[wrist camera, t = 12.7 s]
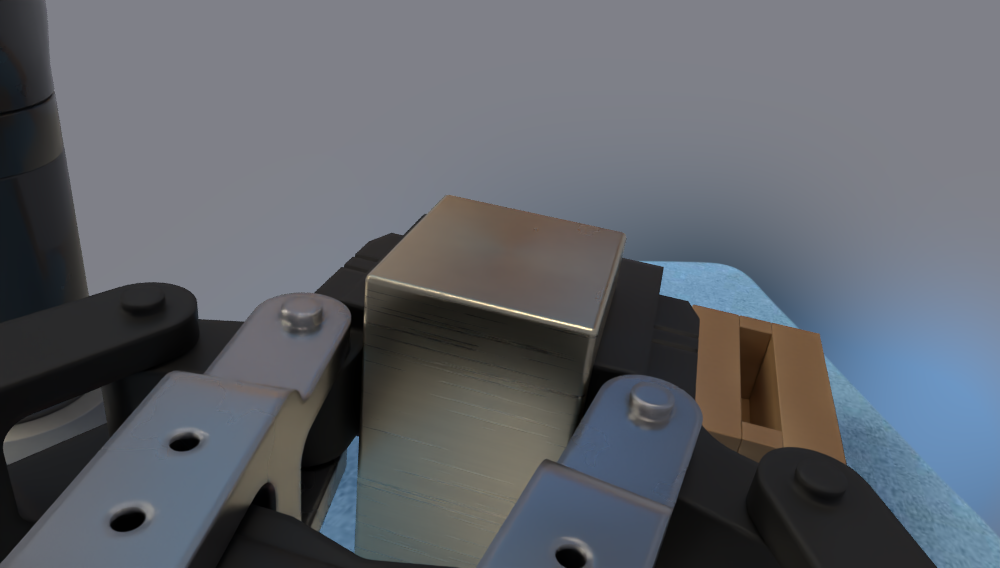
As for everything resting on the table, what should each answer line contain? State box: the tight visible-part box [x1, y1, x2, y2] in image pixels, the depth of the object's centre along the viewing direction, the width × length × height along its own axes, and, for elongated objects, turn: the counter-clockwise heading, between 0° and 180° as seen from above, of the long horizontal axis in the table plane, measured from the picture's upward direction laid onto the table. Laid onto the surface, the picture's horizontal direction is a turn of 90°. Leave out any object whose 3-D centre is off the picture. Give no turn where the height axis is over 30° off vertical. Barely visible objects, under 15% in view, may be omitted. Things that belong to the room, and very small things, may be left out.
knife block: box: [692, 305, 847, 465], centre depth 44 cm, size 8×13×6 cm, turn 164°
